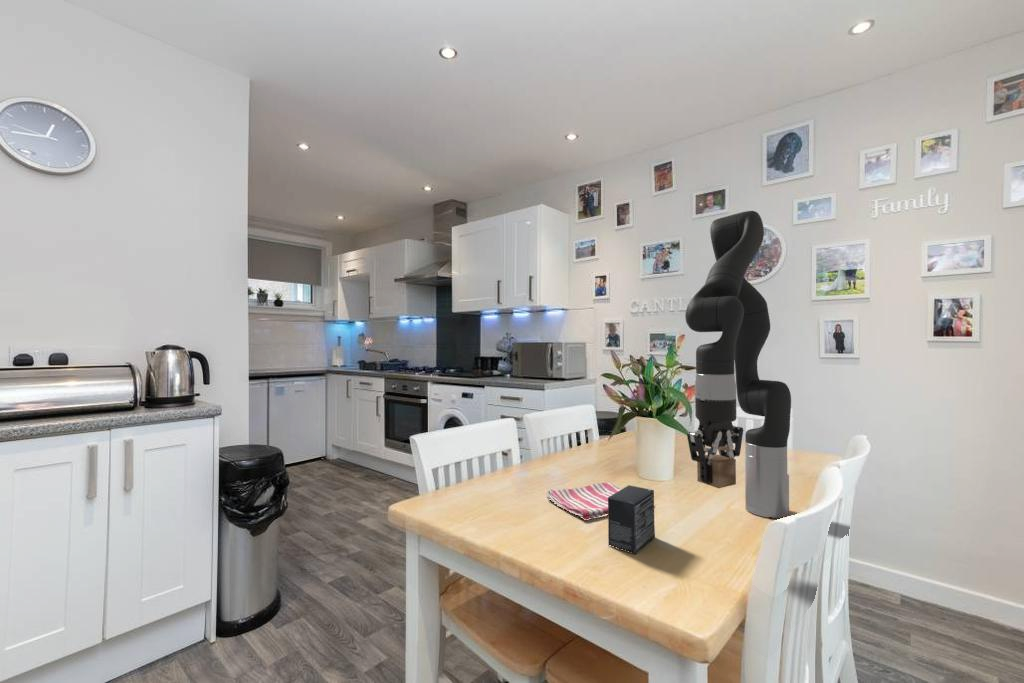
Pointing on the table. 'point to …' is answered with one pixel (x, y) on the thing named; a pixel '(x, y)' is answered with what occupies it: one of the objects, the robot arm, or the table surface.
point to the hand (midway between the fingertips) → (716, 480)
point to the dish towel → (585, 499)
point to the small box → (631, 518)
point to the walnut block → (721, 471)
